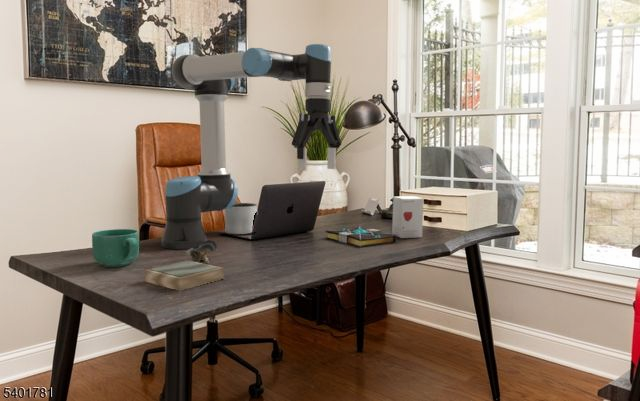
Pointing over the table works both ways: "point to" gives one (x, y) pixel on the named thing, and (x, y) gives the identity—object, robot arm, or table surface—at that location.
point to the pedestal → (184, 275)
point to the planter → (240, 218)
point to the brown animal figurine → (202, 251)
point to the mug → (115, 247)
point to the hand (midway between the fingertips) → (317, 169)
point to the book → (361, 236)
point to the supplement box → (407, 216)
